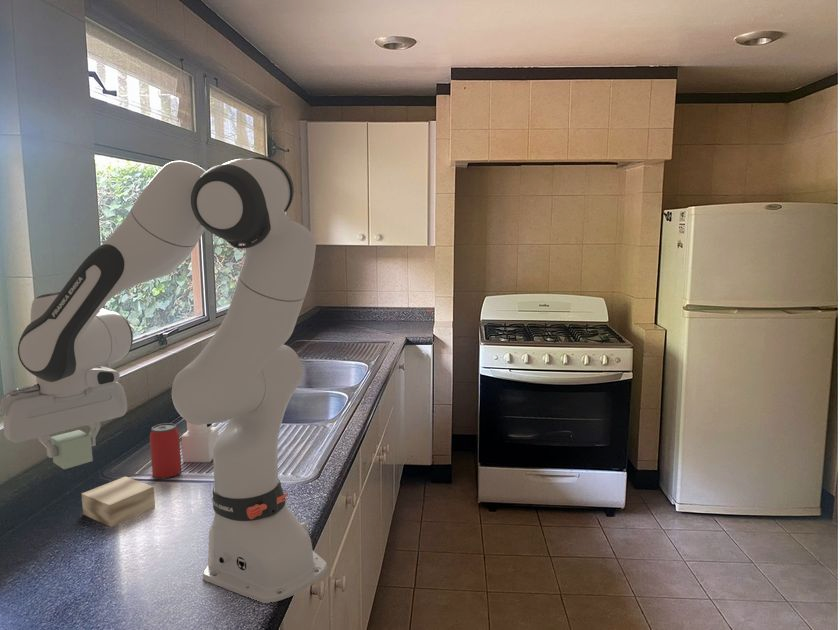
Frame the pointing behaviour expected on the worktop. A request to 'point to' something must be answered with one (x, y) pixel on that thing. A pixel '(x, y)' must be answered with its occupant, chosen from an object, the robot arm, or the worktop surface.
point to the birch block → (118, 501)
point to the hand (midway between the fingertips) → (72, 450)
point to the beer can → (165, 450)
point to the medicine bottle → (199, 442)
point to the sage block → (72, 449)
